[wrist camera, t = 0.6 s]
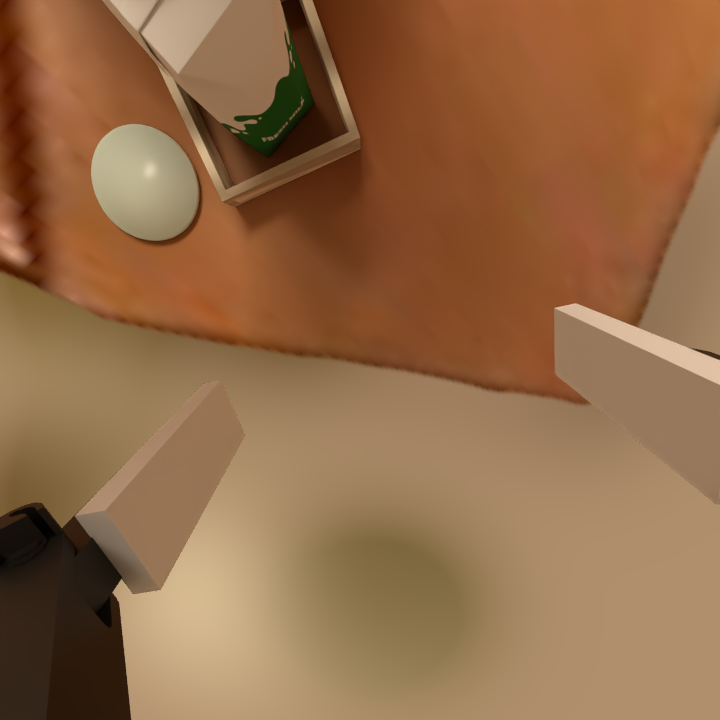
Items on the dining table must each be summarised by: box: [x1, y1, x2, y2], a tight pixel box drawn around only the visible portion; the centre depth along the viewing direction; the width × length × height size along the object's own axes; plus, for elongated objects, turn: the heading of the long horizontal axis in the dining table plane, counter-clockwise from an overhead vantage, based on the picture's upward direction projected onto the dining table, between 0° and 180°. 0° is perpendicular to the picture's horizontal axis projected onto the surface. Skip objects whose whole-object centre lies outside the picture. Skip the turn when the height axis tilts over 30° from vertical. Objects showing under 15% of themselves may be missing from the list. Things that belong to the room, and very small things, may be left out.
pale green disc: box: [91, 124, 200, 241], centre depth 36 cm, size 11×11×1 cm
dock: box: [157, 0, 361, 207], centre depth 32 cm, size 15×15×4 cm
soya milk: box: [102, 0, 314, 158], centre depth 24 cm, size 9×9×20 cm
